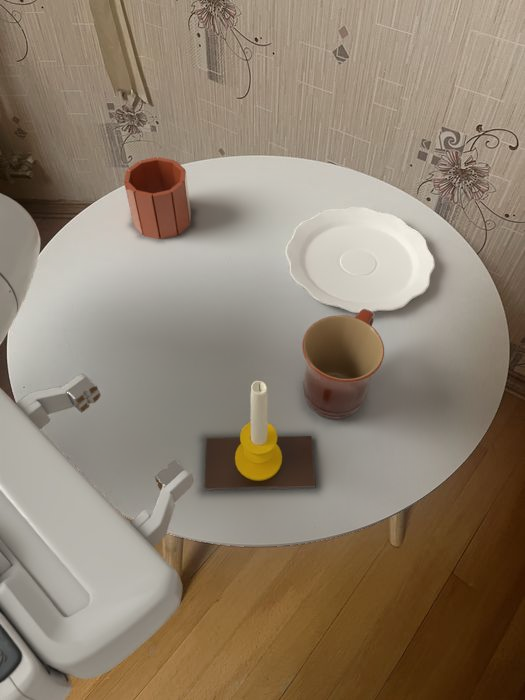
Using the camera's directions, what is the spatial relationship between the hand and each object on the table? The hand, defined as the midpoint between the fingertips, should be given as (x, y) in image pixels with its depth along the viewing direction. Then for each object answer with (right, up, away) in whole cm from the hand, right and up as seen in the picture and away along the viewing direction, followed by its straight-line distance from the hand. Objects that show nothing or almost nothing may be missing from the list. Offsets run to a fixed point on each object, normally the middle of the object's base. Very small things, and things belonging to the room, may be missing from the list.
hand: (137, 425), depth 37 cm
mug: (+18, 0, +32) cm, 37 cm away
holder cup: (-7, +25, +50) cm, 56 cm away
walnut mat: (+8, -8, +26) cm, 28 cm away
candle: (+8, -7, +26) cm, 28 cm away
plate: (+22, +17, +45) cm, 53 cm away
